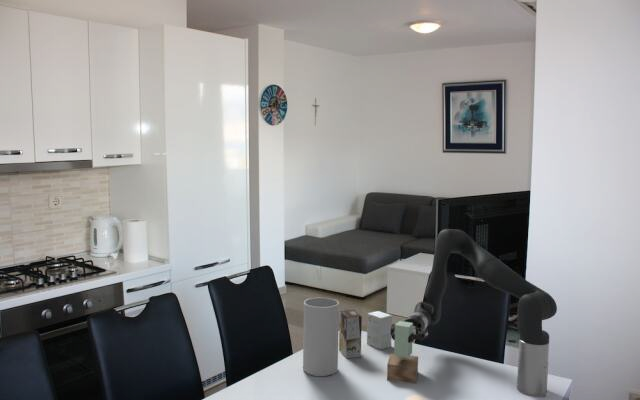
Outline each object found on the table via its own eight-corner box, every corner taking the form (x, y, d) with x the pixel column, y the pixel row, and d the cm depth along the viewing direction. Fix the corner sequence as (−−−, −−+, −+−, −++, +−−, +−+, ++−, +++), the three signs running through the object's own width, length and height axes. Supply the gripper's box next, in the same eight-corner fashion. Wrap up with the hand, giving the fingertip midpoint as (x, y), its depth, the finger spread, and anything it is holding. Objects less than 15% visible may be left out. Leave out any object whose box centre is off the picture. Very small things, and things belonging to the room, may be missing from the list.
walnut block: (417, 372, 202) (418, 356, 201) (416, 384, 192) (416, 367, 191) (389, 369, 204) (390, 353, 203) (386, 380, 194) (387, 364, 194)
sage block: (412, 353, 198) (413, 323, 197) (407, 357, 194) (408, 327, 193) (398, 350, 201) (399, 320, 199) (394, 355, 196) (394, 324, 195)
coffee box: (361, 356, 215) (362, 316, 214) (346, 358, 213) (346, 317, 212) (353, 348, 224) (354, 309, 222) (338, 350, 222) (338, 310, 220)
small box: (391, 346, 227) (392, 315, 226) (380, 349, 223) (381, 318, 222) (377, 340, 233) (378, 310, 232) (366, 344, 229) (367, 313, 228)
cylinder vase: (342, 367, 205) (344, 300, 203) (329, 379, 194) (330, 309, 191) (312, 361, 210) (313, 296, 208) (296, 373, 199) (297, 304, 197)
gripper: (397, 312, 212) (382, 324, 197) (434, 317, 206) (421, 331, 191) (396, 331, 213) (381, 345, 198) (433, 337, 207) (421, 352, 191)
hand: (401, 338), depth 194 cm, fingers closed on sage block, 5 cm apart
